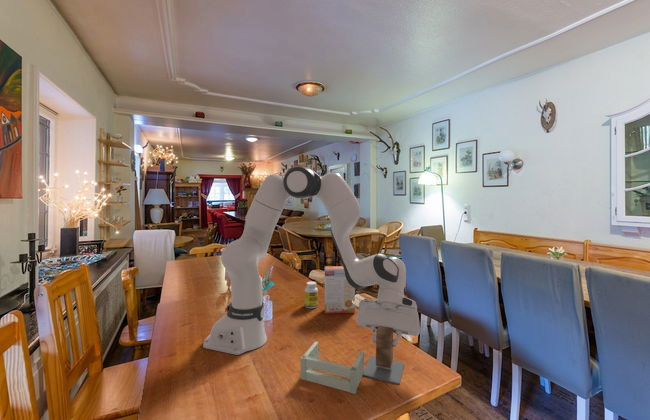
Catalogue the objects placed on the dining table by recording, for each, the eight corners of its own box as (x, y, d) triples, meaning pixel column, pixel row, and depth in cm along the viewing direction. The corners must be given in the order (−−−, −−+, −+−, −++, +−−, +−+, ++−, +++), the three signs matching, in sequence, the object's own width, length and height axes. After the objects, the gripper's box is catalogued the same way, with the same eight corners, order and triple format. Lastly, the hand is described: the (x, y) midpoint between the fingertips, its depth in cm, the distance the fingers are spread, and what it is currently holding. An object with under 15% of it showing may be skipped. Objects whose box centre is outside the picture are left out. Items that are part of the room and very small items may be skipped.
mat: (362, 375, 87) (362, 374, 87) (370, 356, 97) (370, 355, 97) (399, 384, 83) (399, 383, 83) (404, 364, 93) (404, 362, 93)
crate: (300, 379, 85) (300, 357, 85) (314, 360, 95) (314, 341, 94) (355, 394, 79) (355, 371, 79) (364, 372, 89) (364, 352, 88)
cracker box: (353, 308, 138) (353, 265, 137) (355, 313, 132) (355, 268, 131) (324, 308, 138) (324, 265, 136) (324, 313, 131) (324, 268, 130)
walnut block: (375, 365, 89) (376, 330, 88) (378, 357, 93) (379, 324, 92) (390, 368, 87) (391, 333, 86) (392, 360, 91) (393, 327, 91)
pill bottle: (306, 309, 136) (306, 285, 136) (303, 304, 143) (303, 281, 142) (319, 308, 138) (319, 284, 137) (316, 303, 144) (316, 280, 144)
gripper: (358, 293, 99) (350, 334, 91) (420, 302, 92) (417, 347, 83) (361, 302, 104) (353, 341, 95) (421, 311, 96) (418, 354, 88)
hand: (384, 344), depth 89 cm, fingers closed on walnut block, 4 cm apart
